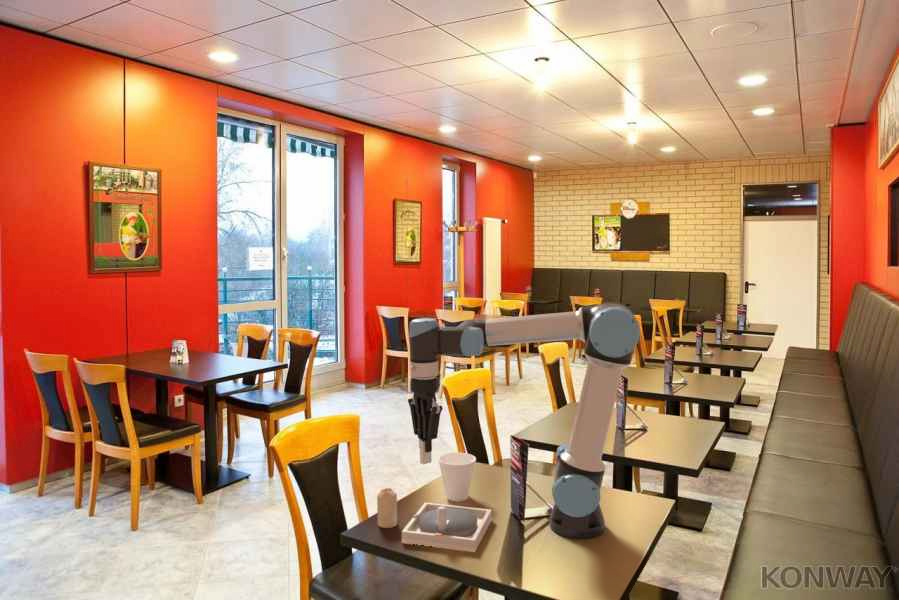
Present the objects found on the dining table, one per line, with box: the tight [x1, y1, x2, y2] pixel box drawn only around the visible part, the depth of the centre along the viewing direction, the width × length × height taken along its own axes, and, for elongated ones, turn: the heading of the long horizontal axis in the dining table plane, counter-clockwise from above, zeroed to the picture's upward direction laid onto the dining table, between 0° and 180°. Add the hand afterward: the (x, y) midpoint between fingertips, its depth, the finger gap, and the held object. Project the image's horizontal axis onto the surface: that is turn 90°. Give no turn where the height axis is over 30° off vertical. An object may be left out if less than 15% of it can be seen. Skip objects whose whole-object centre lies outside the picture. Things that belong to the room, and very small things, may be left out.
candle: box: [376, 487, 398, 529], centre depth 189 cm, size 6×6×10 cm
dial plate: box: [401, 501, 492, 553], centre depth 184 cm, size 20×20×4 cm
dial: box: [419, 506, 477, 537], centre depth 184 cm, size 16×16×8 cm
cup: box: [437, 452, 477, 502], centre depth 208 cm, size 12×12×12 cm
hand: (425, 462), depth 180 cm, fingers closed
